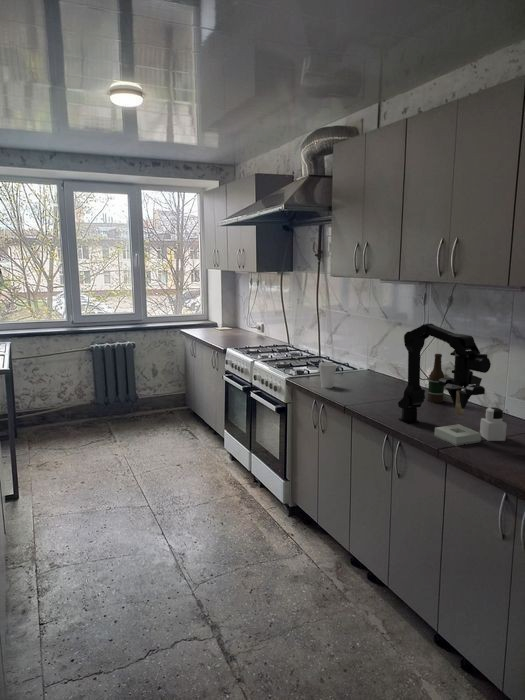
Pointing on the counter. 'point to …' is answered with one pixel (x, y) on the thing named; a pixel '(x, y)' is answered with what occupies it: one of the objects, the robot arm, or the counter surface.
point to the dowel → (458, 404)
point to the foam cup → (327, 374)
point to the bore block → (457, 434)
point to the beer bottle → (436, 382)
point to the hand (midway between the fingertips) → (459, 407)
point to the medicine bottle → (493, 425)
